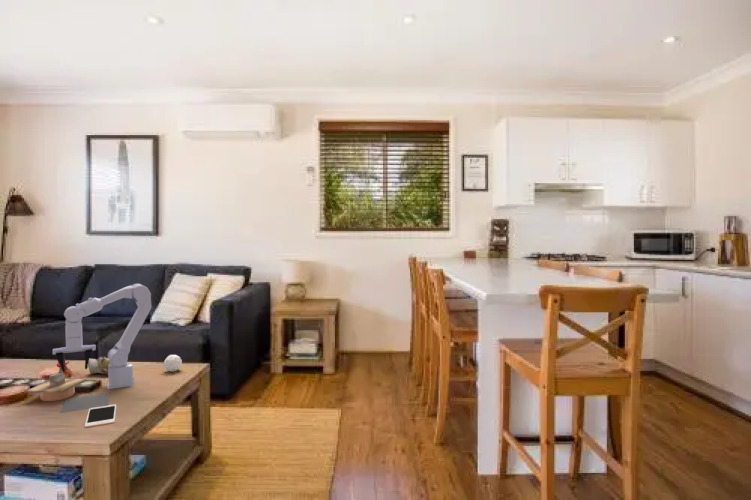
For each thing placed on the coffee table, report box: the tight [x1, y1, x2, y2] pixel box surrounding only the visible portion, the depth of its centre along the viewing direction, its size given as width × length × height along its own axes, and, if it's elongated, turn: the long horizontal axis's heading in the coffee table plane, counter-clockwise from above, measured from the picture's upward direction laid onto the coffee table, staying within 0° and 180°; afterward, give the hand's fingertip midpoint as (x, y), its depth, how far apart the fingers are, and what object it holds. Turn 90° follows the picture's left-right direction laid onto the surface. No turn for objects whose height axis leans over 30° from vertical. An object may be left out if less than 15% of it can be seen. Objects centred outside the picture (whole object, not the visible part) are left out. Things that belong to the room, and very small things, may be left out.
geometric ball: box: [163, 354, 183, 372], centre depth 219 cm, size 8×8×8 cm
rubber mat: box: [60, 392, 111, 414], centre depth 179 cm, size 15×15×1 cm
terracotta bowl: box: [39, 386, 76, 402], centre depth 185 cm, size 11×11×4 cm
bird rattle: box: [56, 359, 70, 379], centre depth 201 cm, size 6×11×9 cm
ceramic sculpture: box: [88, 355, 111, 376], centre depth 215 cm, size 11×9×15 cm
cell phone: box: [84, 403, 117, 429], centre depth 167 cm, size 9×18×1 cm, turn 27°
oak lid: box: [26, 372, 87, 393], centre depth 185 cm, size 14×14×4 cm
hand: (75, 369), depth 189 cm, fingers open, 7 cm apart
